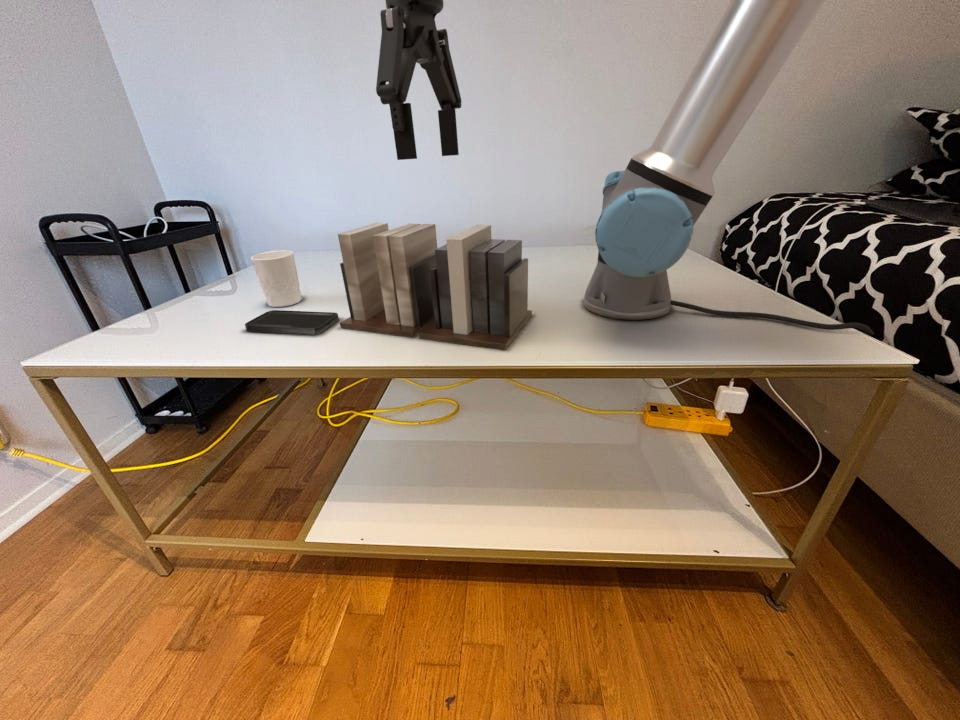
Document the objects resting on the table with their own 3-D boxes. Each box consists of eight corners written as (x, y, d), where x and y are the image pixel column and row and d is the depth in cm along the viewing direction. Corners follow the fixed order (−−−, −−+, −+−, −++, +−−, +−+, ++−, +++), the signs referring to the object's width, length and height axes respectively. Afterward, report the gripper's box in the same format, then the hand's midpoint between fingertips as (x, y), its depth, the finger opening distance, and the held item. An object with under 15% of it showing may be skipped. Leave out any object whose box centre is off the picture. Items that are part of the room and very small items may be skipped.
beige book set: (452, 307, 80) (445, 222, 73) (413, 337, 68) (401, 239, 61) (387, 300, 86) (375, 220, 78) (340, 328, 73) (320, 236, 66)
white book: (493, 309, 75) (491, 224, 69) (467, 335, 66) (461, 239, 59) (480, 308, 76) (477, 224, 69) (453, 333, 67) (446, 238, 60)
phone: (270, 309, 80) (340, 312, 77) (271, 315, 80) (341, 318, 77) (241, 325, 73) (316, 329, 70) (243, 331, 73) (318, 335, 70)
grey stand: (531, 315, 75) (533, 236, 68) (505, 350, 63) (504, 258, 56) (457, 307, 80) (451, 234, 74) (419, 338, 68) (408, 253, 61)
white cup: (286, 309, 83) (273, 260, 79) (256, 306, 86) (241, 258, 81) (312, 297, 90) (301, 251, 85) (283, 294, 92) (271, 249, 88)
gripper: (432, 4, 64) (445, 155, 74) (321, -58, 44) (359, 162, 53) (476, -6, 61) (484, 153, 71) (379, -76, 41) (409, 159, 51)
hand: (430, 157), depth 62 cm, fingers open, 13 cm apart
